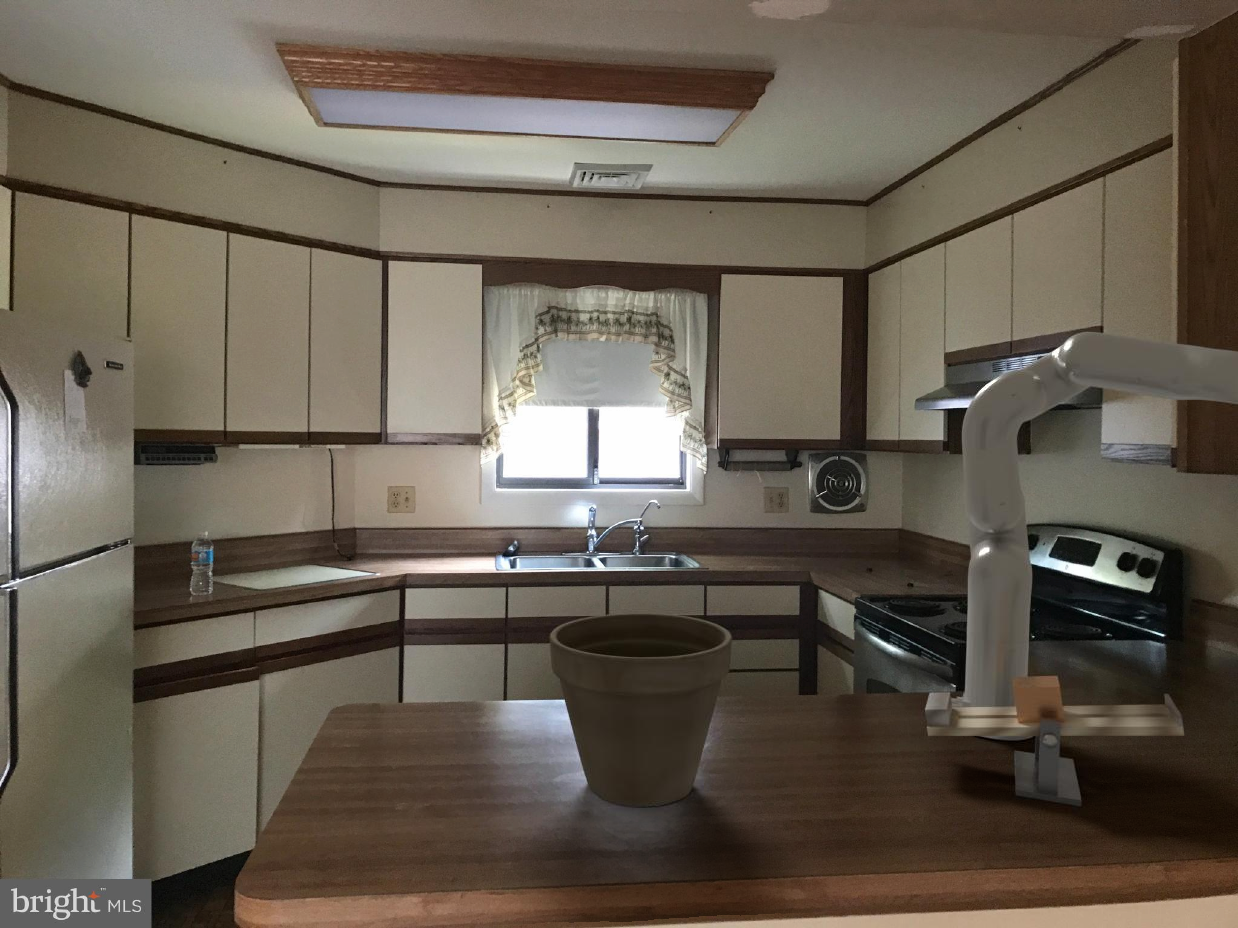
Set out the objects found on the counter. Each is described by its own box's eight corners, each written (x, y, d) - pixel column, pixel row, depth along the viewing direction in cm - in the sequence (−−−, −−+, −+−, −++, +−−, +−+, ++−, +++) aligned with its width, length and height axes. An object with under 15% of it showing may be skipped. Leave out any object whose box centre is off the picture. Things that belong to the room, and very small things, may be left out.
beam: (928, 735, 127) (924, 710, 127) (933, 715, 136) (930, 691, 136) (1184, 735, 114) (1180, 707, 114) (1170, 712, 123) (1167, 686, 123)
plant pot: (568, 836, 106) (571, 660, 105) (533, 760, 130) (535, 615, 129) (758, 815, 112) (762, 649, 111) (691, 746, 136) (694, 608, 135)
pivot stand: (1015, 795, 120) (1018, 719, 119) (1014, 755, 135) (1017, 688, 134) (1081, 806, 117) (1084, 729, 116) (1072, 764, 131) (1075, 695, 131)
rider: (1019, 729, 124) (1013, 687, 124) (1018, 717, 130) (1012, 676, 130) (1065, 729, 122) (1059, 686, 122) (1063, 716, 127) (1057, 675, 127)
